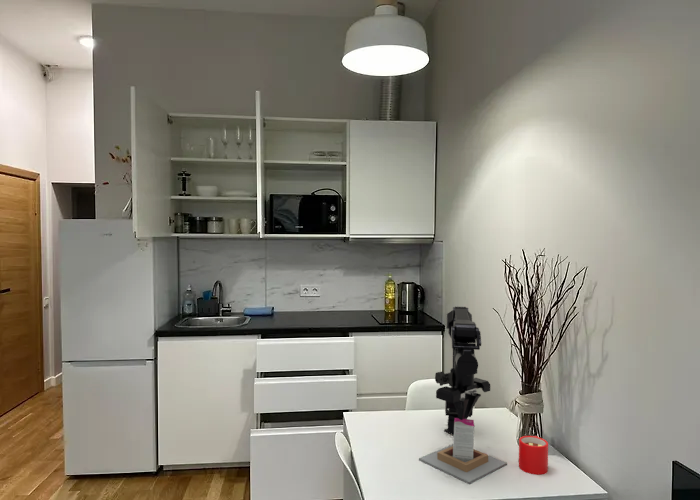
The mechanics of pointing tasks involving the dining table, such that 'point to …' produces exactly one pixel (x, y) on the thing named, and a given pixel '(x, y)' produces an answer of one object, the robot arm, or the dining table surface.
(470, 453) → the supplement box
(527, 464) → the mug
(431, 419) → the dining table surface
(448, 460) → the holder
